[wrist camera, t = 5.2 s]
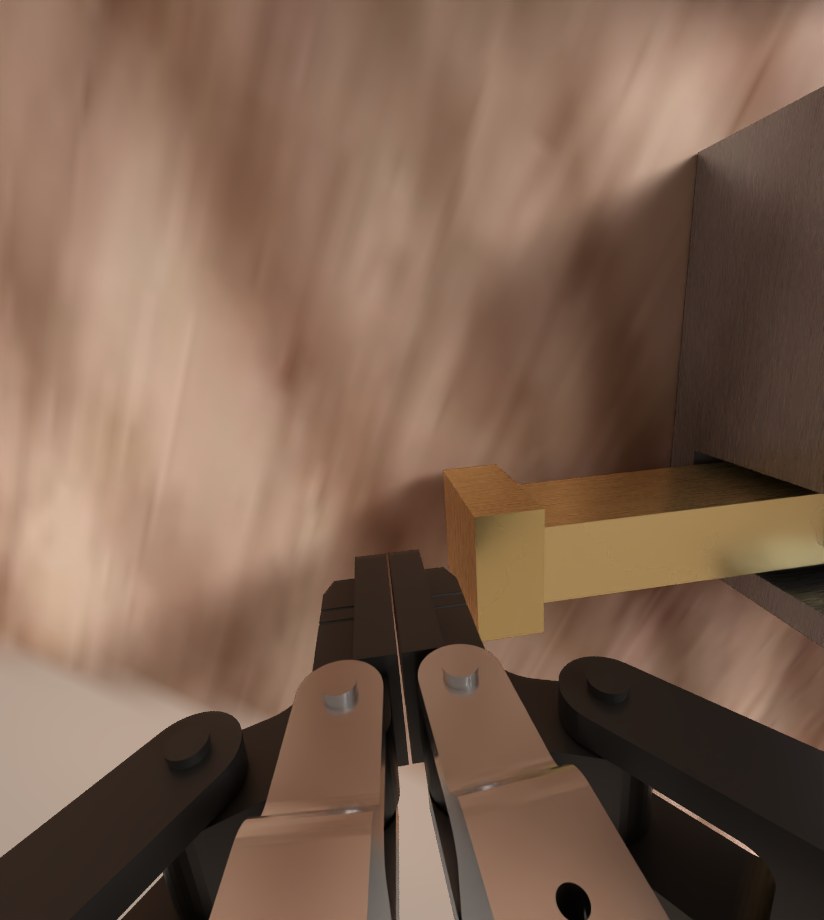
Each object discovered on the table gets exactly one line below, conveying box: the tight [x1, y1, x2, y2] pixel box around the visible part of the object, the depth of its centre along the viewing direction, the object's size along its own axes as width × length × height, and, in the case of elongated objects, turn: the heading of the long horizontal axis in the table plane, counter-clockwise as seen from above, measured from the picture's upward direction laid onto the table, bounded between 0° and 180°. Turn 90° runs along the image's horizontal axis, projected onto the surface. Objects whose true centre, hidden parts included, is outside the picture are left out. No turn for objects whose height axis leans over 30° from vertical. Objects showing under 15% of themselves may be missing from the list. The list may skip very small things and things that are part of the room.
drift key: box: [443, 461, 824, 641], centre depth 13 cm, size 11×3×4 cm, turn 94°
